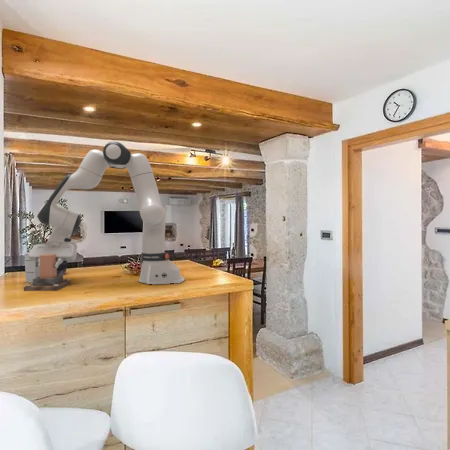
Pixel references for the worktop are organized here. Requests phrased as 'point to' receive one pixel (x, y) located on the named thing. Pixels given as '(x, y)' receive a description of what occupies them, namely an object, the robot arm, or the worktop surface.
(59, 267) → the crystal cluster
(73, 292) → the worktop surface
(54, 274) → the terracotta tower block
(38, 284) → the walnut base board
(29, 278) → the syrup box
